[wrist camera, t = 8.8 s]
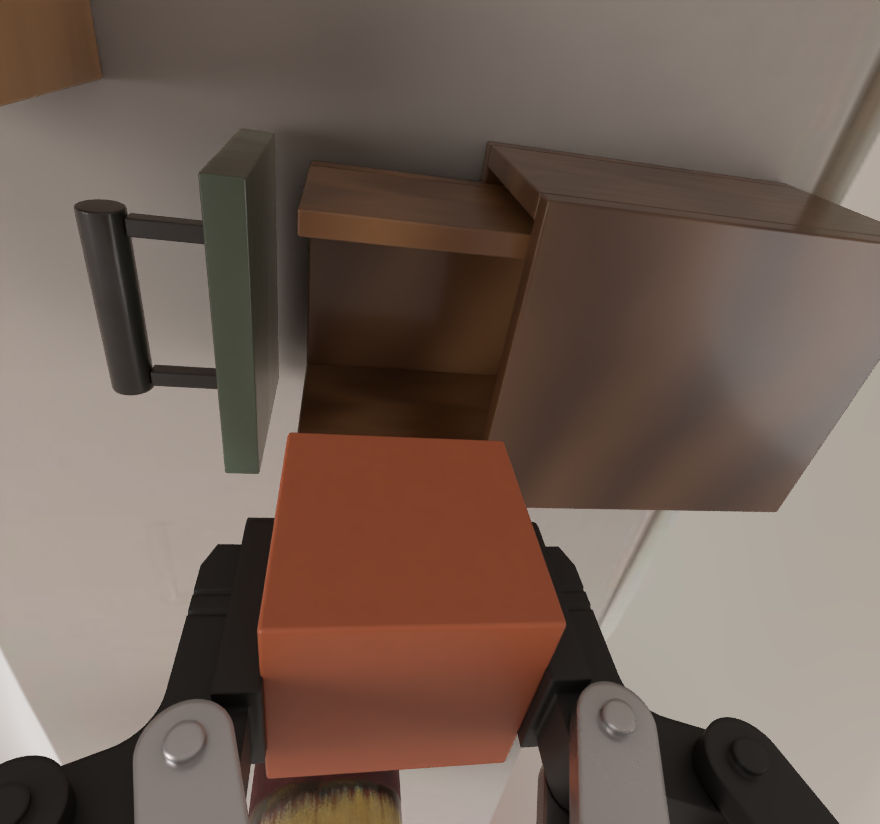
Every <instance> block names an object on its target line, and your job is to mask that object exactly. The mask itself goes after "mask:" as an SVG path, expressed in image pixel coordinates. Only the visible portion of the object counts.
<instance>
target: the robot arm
mask: <svg viewBox="0 0 880 824" xmlns="http://www.w3.org/2000/svg"><path fill="white" fill-rule="evenodd" d="M274 520H275V518H248V519H247V522H246V526H245V530H244V535H243V540H242V545H234V544H218V545H217V546H216V547H215V549H214V550H213V551H212V552H211V553H210V555H209V556H208V557H207V558H206V560H205V561H204V562H203V563H202V565H201V566H200V570H199V574H198V577H197V581H196V584H195V588H194V595H192V599H191V603H190V606H189V610H188V616H187V617H186V621H185V624H184V628H183V632H182V635H181V639H180V643H179V646H178V650H177V654H176V657H175V661H174V664H173V668H172V672H171V675H170V679H169V683H168V686H167V690H166V693H165V696H164V699H163V701H162V703H161V705H160V707H159V709H158V710H157V712H156V713H155V714H154V716H153V717H152V718H151V719H150V721H149V722H148V723H147V724H146V725H145V726H144V727H143V728H142V729H141V730H139V731H138V732H137V733H136V734H134V735H133V736H132V737H130V738H129V739H127V740H125V741H124V742H122V743H120V744H118V745H116V746H114V747H111V748H109V749H106V750H104V751H101V752H98V753H95V754H93V755H90V756H87V757H85V758H82V759H79V760H76V761H74V762H71V763H68V764H66V765H63V766H60V765H59V764H58V763H57V762H55V761H54V760H52V759H50V758H47V757H43V756H24V757H19V758H15V759H12V760H9V761H6V762H4V763H2V764H0V824H250V822H249V816H248V810H247V804H246V796H247V788H248V781H249V773H250V766H251V764H259V763H265V757H266V732H265V714H264V696H263V678H262V677H261V675H260V668H259V652H258V636H257V628H258V622H259V616H260V609H261V603H262V597H263V590H264V584H265V577H266V571H267V565H268V558H269V552H270V545H271V539H272V533H273V526H274ZM531 523H532V525H533V528H534V531H535V534H536V537H537V540H538V543H539V546H540V548H541V551H542V554H543V557H544V560H545V563H546V566H547V569H548V572H549V574H550V577H551V580H552V583H553V586H554V589H555V592H556V595H557V598H558V600H559V603H560V606H561V609H562V612H563V615H564V618H565V621H566V628H565V630H564V632H563V634H562V636H561V639H560V641H559V643H558V645H557V648H556V650H555V652H554V654H553V656H552V659H551V661H550V663H549V665H548V667H547V669H546V672H545V674H544V676H543V678H542V680H541V683H540V685H539V687H538V689H537V691H536V694H535V696H534V698H533V700H532V703H531V705H530V707H529V709H528V711H527V714H526V716H525V718H524V720H523V722H522V725H521V727H520V729H519V731H518V738H519V742H520V746H521V747H535V746H538V747H539V751H540V755H541V759H542V763H543V765H542V767H541V769H540V772H539V777H538V797H537V824H839V823H838V821H837V820H836V819H835V818H834V817H833V815H832V814H831V813H830V812H829V810H828V809H827V808H826V807H825V806H824V804H823V803H822V802H821V801H820V799H819V798H818V797H817V796H816V795H815V793H814V792H813V791H812V790H811V788H810V787H809V786H808V785H807V784H806V782H805V781H804V780H803V779H802V778H801V776H800V775H799V774H798V773H797V772H796V771H795V769H794V768H793V767H792V765H791V764H790V763H789V762H788V761H787V759H786V758H785V757H784V756H783V755H782V753H781V752H780V751H779V750H778V749H777V747H776V746H775V745H774V744H773V743H772V742H771V740H770V739H769V738H768V737H767V736H766V735H765V734H763V733H762V732H761V731H759V730H758V729H757V728H755V727H754V726H752V725H751V724H749V723H747V722H745V721H742V720H739V719H736V718H730V717H725V718H719V719H716V720H714V721H713V722H712V723H711V724H710V725H709V726H708V727H707V728H706V729H702V728H699V727H695V726H692V725H689V724H685V723H682V722H679V721H675V720H672V719H669V718H666V717H663V716H660V715H658V714H656V713H654V712H652V711H650V710H649V709H648V707H647V706H646V705H645V703H644V702H643V701H642V700H641V699H640V698H639V697H638V696H637V695H636V694H635V693H633V692H632V691H631V690H629V689H628V688H626V687H625V686H624V685H623V683H622V681H621V679H620V677H619V675H618V673H617V670H616V668H615V665H614V663H613V660H612V658H611V655H610V653H609V650H608V648H607V645H606V642H605V640H604V637H603V635H602V632H601V630H600V627H599V625H598V622H597V620H596V617H595V615H594V612H593V610H591V608H590V602H589V600H588V597H587V595H586V592H584V591H583V585H582V582H581V580H580V577H579V575H578V572H577V570H576V567H575V565H574V564H573V563H572V562H571V561H570V559H569V558H568V557H567V556H566V555H565V554H564V552H563V551H562V550H561V549H560V548H559V547H545V544H544V541H543V539H542V536H541V533H540V530H539V528H538V526H537V524H536V523H535V522H531Z"/></svg>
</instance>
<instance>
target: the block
mask: <svg viewBox="0 0 880 824" xmlns="http://www.w3.org/2000/svg"><path fill="white" fill-rule="evenodd" d="M565 628H566V621H565V618H564V615H563V612H562V609H561V606H560V603H559V600H558V598H557V595H556V592H555V589H554V586H553V583H552V580H551V577H550V574H549V572H548V569H547V566H546V563H545V560H544V557H543V554H542V551H541V548H540V546H539V543H538V540H537V537H536V534H535V531H534V528H533V525H532V523H531V520H530V517H529V514H528V511H527V508H526V505H525V502H524V499H523V497H522V494H521V491H520V488H519V485H518V482H517V479H516V476H515V473H514V471H513V468H512V465H511V462H510V459H509V456H508V453H507V450H506V448H505V445H504V442H502V441H488V440H463V439H439V438H414V437H389V436H365V435H340V434H315V433H289V435H288V437H287V443H286V450H285V456H284V463H283V469H282V475H281V482H280V488H279V494H278V501H277V507H276V514H275V520H274V526H273V533H272V539H271V545H270V552H269V558H268V565H267V571H266V577H265V584H264V590H263V597H262V603H261V609H260V616H259V622H258V628H257V636H258V652H259V668H260V675H261V677H262V678H263V696H264V714H265V732H266V757H265V765H266V776H267V778H269V779H273V778H287V777H302V776H316V775H330V774H345V773H359V772H373V771H388V770H402V769H416V768H431V767H445V766H459V765H474V764H488V763H502V762H504V761H505V760H506V758H507V756H508V754H509V751H510V749H511V747H512V745H513V743H514V740H515V738H516V736H517V734H518V731H519V729H520V727H521V725H522V722H523V720H524V718H525V716H526V714H527V711H528V709H529V707H530V705H531V703H532V700H533V698H534V696H535V694H536V691H537V689H538V687H539V685H540V683H541V680H542V678H543V676H544V674H545V672H546V669H547V667H548V665H549V663H550V661H551V659H552V656H553V654H554V652H555V650H556V648H557V645H558V643H559V641H560V639H561V636H562V634H563V632H564V630H565Z"/></svg>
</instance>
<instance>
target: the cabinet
mask: <svg viewBox="0 0 880 824" xmlns="http://www.w3.org/2000/svg"><path fill="white" fill-rule="evenodd" d="M480 182H482V183H489V184H497V185H504V186H505V187H506V188H507V189H508V190H509V191H510V193H511V194H512V195H513V196H514V197H515V198H516V200H517V201H518V202H519V203H520V204H521V205H522V207H523V208H524V209H525V210H526V211H527V212H528V213H529V215H530V216H531V217H532V218H533V219H534V224H533V228H532V232H531V237H530V241H529V245H528V249H527V253H526V258H525V262H524V266H523V270H522V274H521V278H520V283H519V287H518V291H517V295H516V299H515V303H514V308H513V312H512V316H511V320H510V324H509V328H508V333H507V337H506V341H505V345H504V349H503V354H502V358H501V362H500V366H499V370H498V374H497V379H496V383H495V387H494V391H493V395H492V399H491V404H490V408H489V412H488V416H487V420H486V425H485V429H484V433H483V437H482V440H488V441H502V442H504V445H505V448H506V450H507V453H508V456H509V459H510V462H511V465H512V468H513V471H514V473H515V476H516V479H517V482H518V485H519V488H520V491H521V494H522V497H523V499H524V502H525V505H526V508H574V509H630V510H687V511H743V512H745V511H746V512H776V511H778V509H779V508H780V506H781V505H782V503H783V502H784V500H785V499H786V497H787V496H788V494H789V493H790V491H791V490H792V488H793V487H794V485H795V484H796V483H797V481H798V480H799V478H800V477H801V475H802V474H803V472H804V471H805V469H806V468H807V466H808V465H809V463H810V462H811V460H812V459H813V457H814V456H815V454H816V453H817V451H818V450H819V448H820V447H821V446H822V444H823V443H824V441H825V440H826V438H827V437H828V435H829V434H830V432H831V431H832V429H833V428H834V426H835V425H836V423H837V422H838V420H839V419H840V417H841V416H842V414H843V413H844V412H845V410H846V409H847V407H848V406H849V404H850V403H851V401H852V399H853V398H854V397H855V395H856V394H857V392H858V391H859V389H860V388H861V386H862V385H863V383H864V382H865V380H866V379H867V378H868V376H869V375H870V373H871V372H872V370H873V369H874V367H875V366H876V364H877V363H878V361H879V360H880V222H879V221H877V220H874V219H872V218H869V217H867V216H864V215H861V214H859V213H857V212H854V211H852V210H849V209H847V208H844V207H842V206H839V205H837V204H834V203H832V202H829V201H827V200H824V199H822V198H819V197H817V196H814V195H812V194H809V193H807V192H804V191H802V190H799V189H797V188H795V187H792V186H790V185H787V184H784V183H777V182H770V181H763V180H756V179H749V178H742V177H735V176H728V175H721V174H714V173H707V172H700V171H693V170H686V169H679V168H672V167H665V166H658V165H651V164H644V163H637V162H630V161H623V160H616V159H609V158H602V157H595V156H588V155H581V154H574V153H567V152H561V151H554V150H547V149H540V148H533V147H526V146H519V145H512V144H505V143H498V142H491V141H488V142H487V146H486V152H485V158H484V163H483V169H482V174H481V180H480Z"/></svg>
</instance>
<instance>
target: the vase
mask: <svg viewBox="0 0 880 824" xmlns="http://www.w3.org/2000/svg"><path fill="white" fill-rule="evenodd" d="M248 816H249V822H250V824H402V813H401V796H400V780H399V770H388V771H373V772H359V773H345V774H330V775H316V776H302V777H287V778H273V779H269V778H267V776H266V765H265V763H259V764H255V770H254V777H253V785H252V792H251V800H250V808H249V815H248Z"/></svg>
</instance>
